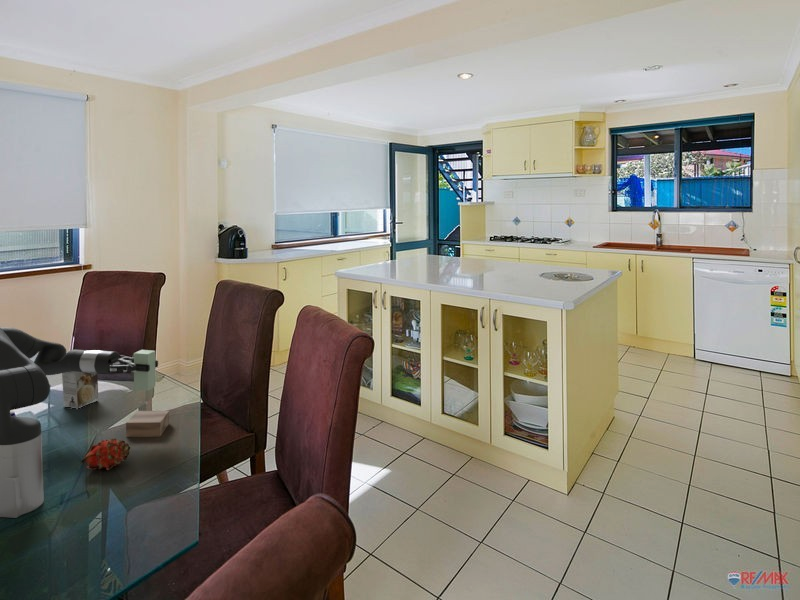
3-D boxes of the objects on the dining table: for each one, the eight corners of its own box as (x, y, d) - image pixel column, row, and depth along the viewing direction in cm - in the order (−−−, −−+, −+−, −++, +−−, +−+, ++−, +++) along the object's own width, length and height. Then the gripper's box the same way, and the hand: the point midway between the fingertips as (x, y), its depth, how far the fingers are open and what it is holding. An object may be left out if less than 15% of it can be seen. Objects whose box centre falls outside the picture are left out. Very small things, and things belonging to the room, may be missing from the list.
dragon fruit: (135, 466, 136) (86, 485, 128) (125, 442, 139) (77, 459, 132) (135, 451, 131) (85, 470, 123) (125, 426, 134) (75, 443, 126)
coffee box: (84, 399, 178) (83, 357, 176) (98, 401, 177) (98, 359, 175) (62, 407, 169) (61, 363, 167) (77, 410, 168) (76, 366, 166)
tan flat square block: (160, 437, 152) (160, 422, 152) (126, 437, 150) (126, 422, 150) (169, 424, 162) (169, 410, 161) (137, 425, 160) (137, 410, 159)
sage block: (148, 390, 152) (148, 354, 150) (134, 389, 152) (133, 353, 150) (155, 386, 156) (155, 350, 155) (141, 385, 156) (141, 349, 155)
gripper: (85, 356, 145) (141, 360, 145) (113, 345, 160) (164, 349, 160) (86, 380, 146) (141, 384, 146) (114, 367, 161) (164, 371, 161)
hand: (153, 366), depth 153 cm, fingers closed on sage block, 4 cm apart
